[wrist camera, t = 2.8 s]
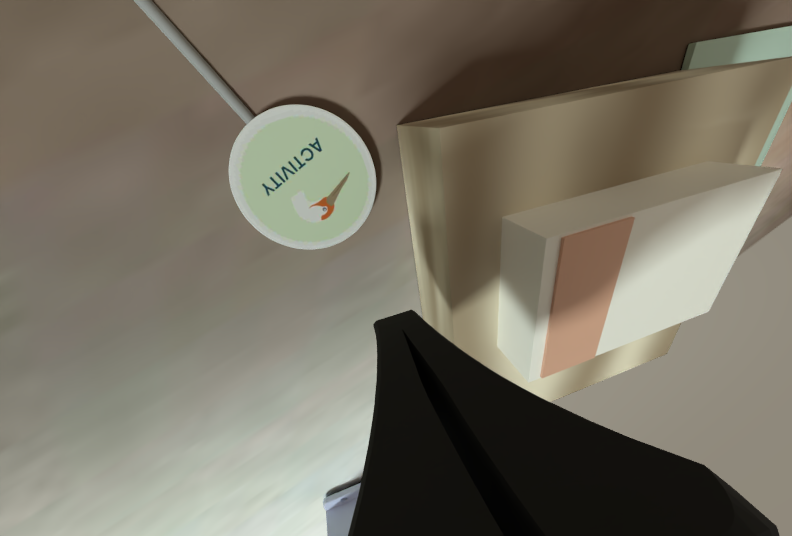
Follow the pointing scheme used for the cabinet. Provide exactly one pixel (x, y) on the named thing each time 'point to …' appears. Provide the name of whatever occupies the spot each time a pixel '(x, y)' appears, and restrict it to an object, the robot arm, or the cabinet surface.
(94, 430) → the cabinet surface
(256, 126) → the sign
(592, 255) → the white striped box
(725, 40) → the mat
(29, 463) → the cabinet surface
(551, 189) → the cream piece
